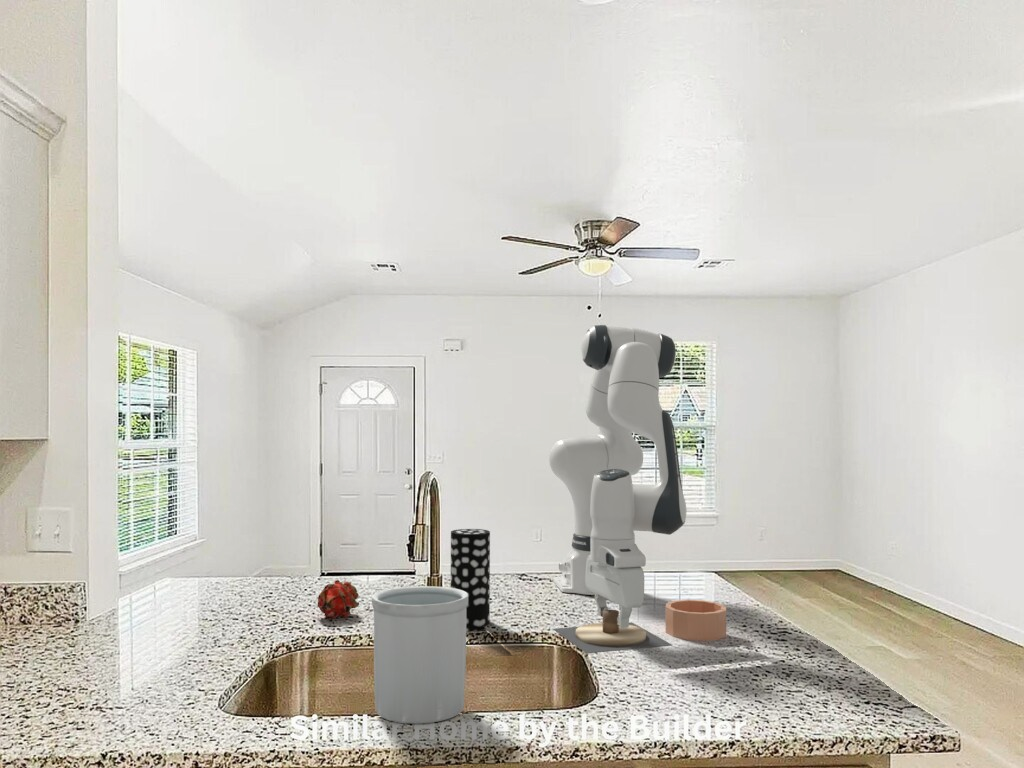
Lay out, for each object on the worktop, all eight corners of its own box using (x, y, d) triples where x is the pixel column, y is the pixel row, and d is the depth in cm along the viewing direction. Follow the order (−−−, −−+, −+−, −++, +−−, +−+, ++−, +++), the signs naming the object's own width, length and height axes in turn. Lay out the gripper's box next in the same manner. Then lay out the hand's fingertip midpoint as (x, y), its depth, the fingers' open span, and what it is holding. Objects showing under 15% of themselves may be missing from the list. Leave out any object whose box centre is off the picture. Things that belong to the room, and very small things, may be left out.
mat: (552, 632, 175) (552, 628, 175) (631, 626, 181) (631, 622, 181) (586, 657, 158) (586, 652, 158) (672, 649, 164) (672, 645, 164)
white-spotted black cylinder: (484, 632, 175) (484, 535, 176) (445, 630, 177) (446, 533, 178) (493, 622, 184) (493, 529, 184) (456, 620, 185) (456, 528, 186)
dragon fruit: (354, 617, 194) (329, 638, 183) (325, 594, 195) (299, 613, 184) (372, 589, 192) (348, 609, 180) (343, 566, 193) (317, 584, 182)
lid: (565, 630, 174) (565, 606, 174) (627, 625, 178) (627, 601, 179) (592, 649, 161) (592, 622, 161) (658, 642, 165) (658, 616, 165)
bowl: (655, 630, 177) (655, 602, 177) (706, 626, 181) (706, 598, 181) (684, 646, 166) (684, 615, 166) (737, 641, 169) (737, 611, 169)
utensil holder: (376, 692, 138) (376, 584, 139) (467, 691, 139) (468, 583, 140) (365, 727, 124) (366, 606, 124) (468, 725, 125) (468, 604, 125)
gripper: (577, 544, 179) (578, 610, 178) (619, 560, 159) (620, 635, 159) (605, 543, 181) (605, 608, 180) (650, 558, 161) (650, 632, 161)
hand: (612, 621), depth 169 cm, fingers open, 8 cm apart
